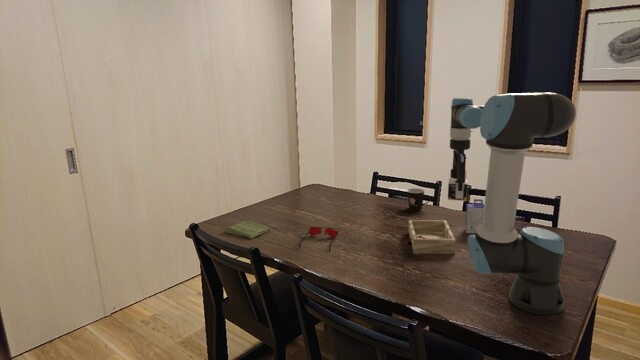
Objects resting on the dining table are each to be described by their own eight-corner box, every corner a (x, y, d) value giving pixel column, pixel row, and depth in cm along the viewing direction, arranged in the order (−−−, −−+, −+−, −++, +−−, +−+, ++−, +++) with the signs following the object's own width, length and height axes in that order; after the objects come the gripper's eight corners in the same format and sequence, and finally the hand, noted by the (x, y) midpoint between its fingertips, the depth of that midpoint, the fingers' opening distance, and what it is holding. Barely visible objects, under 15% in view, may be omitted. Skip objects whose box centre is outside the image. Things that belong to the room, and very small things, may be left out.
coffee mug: (403, 208, 222) (403, 189, 219) (417, 205, 225) (417, 187, 222) (417, 214, 211) (417, 195, 209) (431, 211, 215) (431, 192, 212)
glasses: (339, 237, 187) (339, 227, 186) (329, 253, 172) (329, 242, 171) (309, 235, 191) (308, 225, 190) (297, 250, 176) (296, 239, 175)
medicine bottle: (447, 200, 167) (448, 170, 164) (448, 194, 173) (449, 166, 170) (466, 201, 165) (468, 171, 161) (466, 195, 171) (468, 167, 168)
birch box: (454, 254, 166) (455, 240, 165) (413, 253, 168) (413, 239, 167) (445, 232, 187) (445, 220, 186) (408, 232, 189) (408, 220, 188)
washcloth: (252, 241, 188) (252, 234, 187) (225, 233, 198) (224, 227, 197) (272, 231, 198) (271, 225, 197) (245, 224, 208) (244, 218, 207)
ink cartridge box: (487, 229, 189) (489, 198, 185) (490, 234, 184) (492, 202, 180) (464, 228, 191) (466, 198, 187) (466, 233, 186) (467, 202, 182)
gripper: (475, 143, 152) (472, 203, 158) (465, 133, 172) (462, 187, 178) (454, 143, 153) (451, 203, 160) (446, 134, 173) (444, 187, 179)
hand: (457, 194), depth 169 cm, fingers closed on medicine bottle, 8 cm apart
